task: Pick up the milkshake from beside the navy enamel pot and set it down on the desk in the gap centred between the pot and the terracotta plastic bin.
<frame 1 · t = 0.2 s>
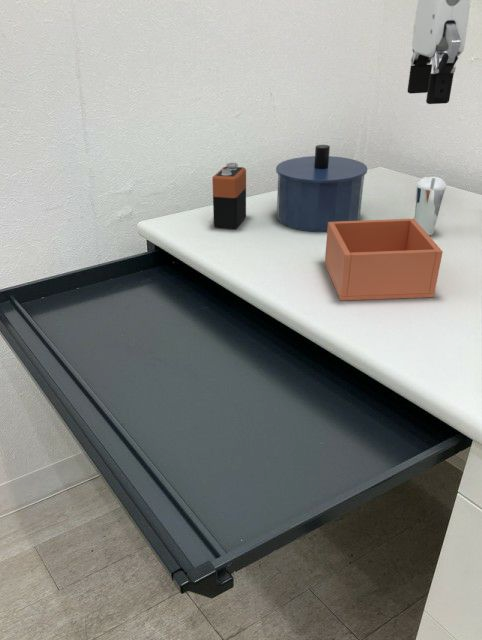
hand: (426, 97, 91), 20 cm above the table, tool pointing down, fingers open, 9 cm apart
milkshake: (422, 234, 100), on the table
pot: (317, 217, 108), on the table
battery: (230, 223, 108), on the table
bin: (375, 279, 86), on the table
pot lid: (321, 170, 103), point 8 cm above the table, touching pot
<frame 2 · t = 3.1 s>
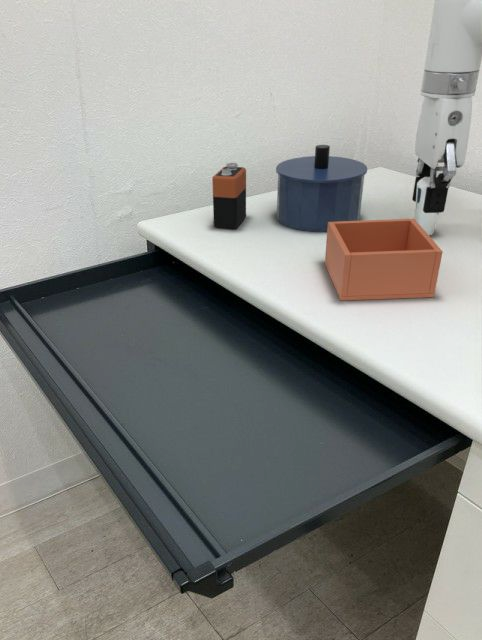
hand: (427, 205, 97), 5 cm above the table, tool pointing down, fingers closed on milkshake, 4 cm apart
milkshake: (422, 234, 100), on the table, touching gripper
everything else where it was.
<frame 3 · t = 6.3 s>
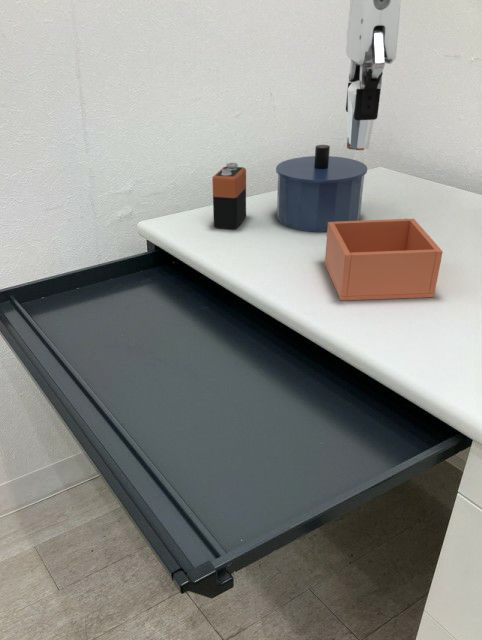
hand: (360, 114, 86), 20 cm above the table, tool pointing down, fingers closed on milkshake, 4 cm apart
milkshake: (357, 149, 89), point 15 cm above the table, touching gripper
everything else where it was.
when the fingers open (5 cm above the table, at t = 9.9 s): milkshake stays where it is, on the table.
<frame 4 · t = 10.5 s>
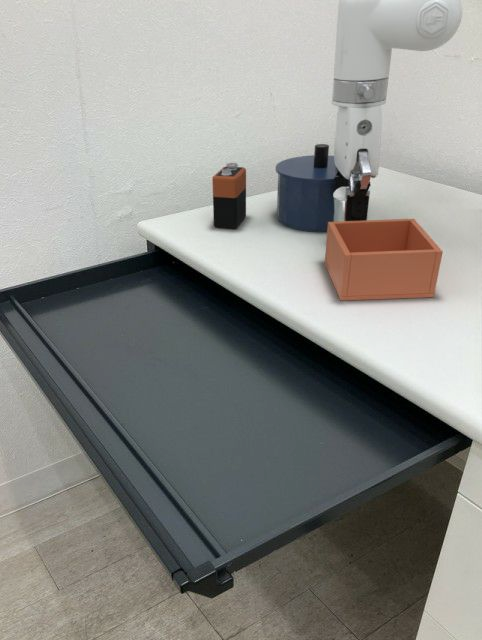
hand: (348, 210, 94), 6 cm above the table, tool pointing down, fingers open, 9 cm apart
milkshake: (343, 245, 97), on the table
everything else where it was.
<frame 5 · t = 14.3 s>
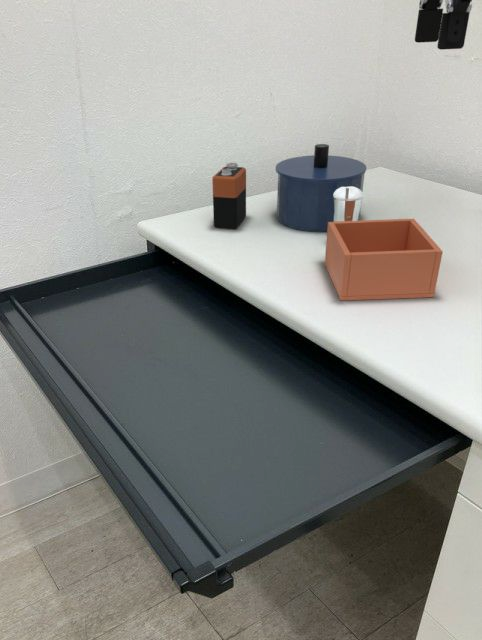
hand: (437, 45, 81), 28 cm above the table, tool pointing down, fingers open, 9 cm apart
nothing on the table moved.
at the end: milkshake 0.0 cm from the target spot on the table beside the pot, on the table; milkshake 13.7 cm from the bin (horizontally); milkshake tilted 0° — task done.
